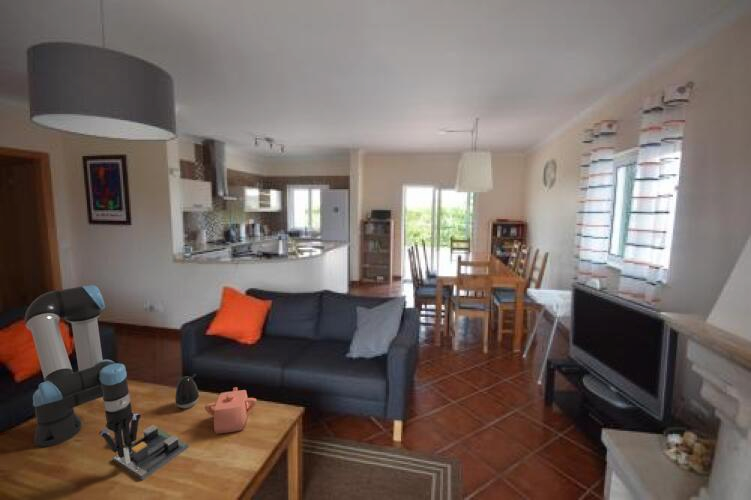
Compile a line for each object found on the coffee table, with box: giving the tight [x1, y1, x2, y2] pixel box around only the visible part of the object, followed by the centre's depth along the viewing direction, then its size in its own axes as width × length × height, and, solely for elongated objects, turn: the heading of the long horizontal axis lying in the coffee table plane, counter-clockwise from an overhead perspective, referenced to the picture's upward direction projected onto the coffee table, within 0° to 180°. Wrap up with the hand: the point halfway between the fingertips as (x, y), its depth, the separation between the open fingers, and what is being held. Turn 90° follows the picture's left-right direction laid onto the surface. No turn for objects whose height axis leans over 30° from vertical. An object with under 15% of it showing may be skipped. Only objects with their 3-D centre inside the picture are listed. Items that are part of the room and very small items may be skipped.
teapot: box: [204, 386, 257, 435], centre depth 156 cm, size 20×22×14 cm
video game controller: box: [112, 423, 140, 445], centre depth 145 cm, size 10×5×7 cm, turn 169°
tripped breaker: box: [131, 442, 148, 462], centre depth 132 cm, size 3×4×5 cm
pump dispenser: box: [174, 373, 200, 409], centre depth 166 cm, size 10×10×15 cm
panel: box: [112, 424, 189, 481], centre depth 135 cm, size 20×18×6 cm
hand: (126, 462), depth 128 cm, fingers closed
